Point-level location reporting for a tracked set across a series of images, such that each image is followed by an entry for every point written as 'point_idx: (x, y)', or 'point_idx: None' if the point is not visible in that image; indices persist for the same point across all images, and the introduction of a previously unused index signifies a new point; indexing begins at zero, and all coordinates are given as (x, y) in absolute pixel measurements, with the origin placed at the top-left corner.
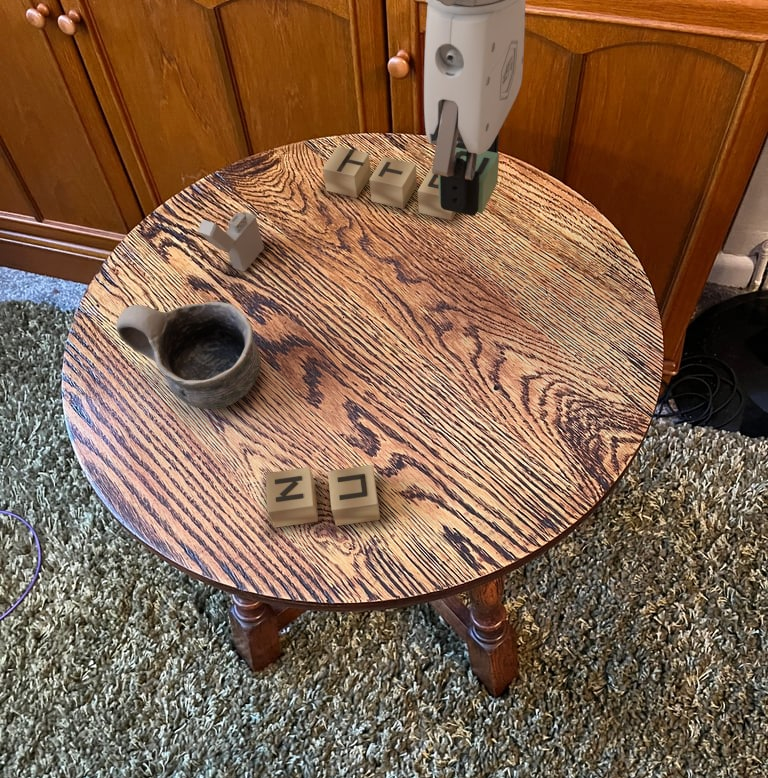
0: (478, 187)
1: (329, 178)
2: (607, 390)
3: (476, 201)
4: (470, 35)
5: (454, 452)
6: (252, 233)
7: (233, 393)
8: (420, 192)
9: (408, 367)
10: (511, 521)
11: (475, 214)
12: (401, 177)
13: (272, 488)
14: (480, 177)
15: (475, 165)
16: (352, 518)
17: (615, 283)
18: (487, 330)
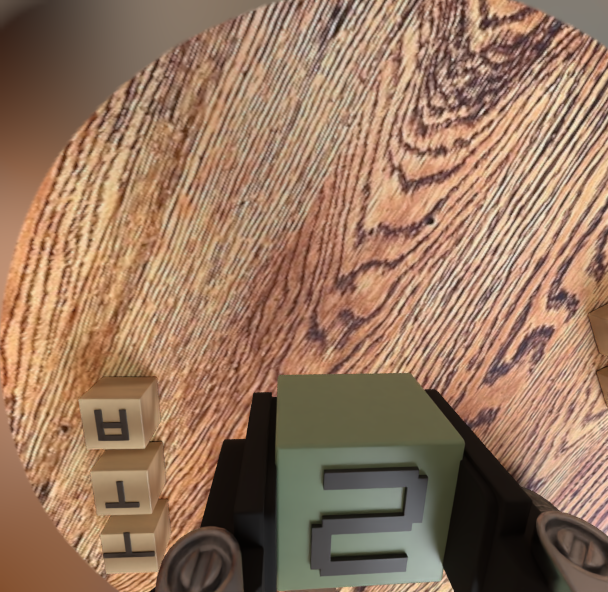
0: (472, 448)
1: (162, 550)
2: (400, 57)
3: (457, 416)
4: None
5: (536, 240)
6: (304, 590)
7: (553, 506)
8: (145, 443)
9: (422, 338)
10: None
11: (436, 390)
12: (128, 478)
13: None
14: (430, 462)
15: (561, 562)
16: None
17: (184, 97)
18: (337, 263)
